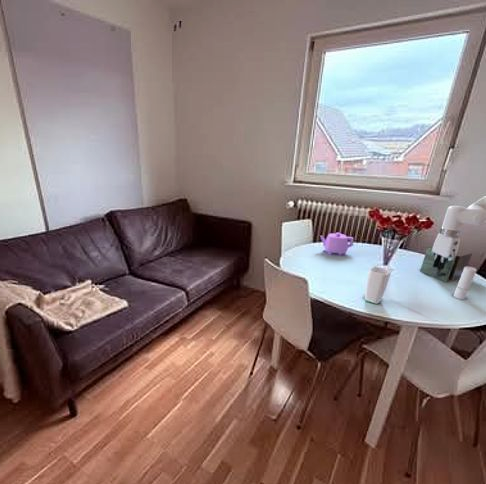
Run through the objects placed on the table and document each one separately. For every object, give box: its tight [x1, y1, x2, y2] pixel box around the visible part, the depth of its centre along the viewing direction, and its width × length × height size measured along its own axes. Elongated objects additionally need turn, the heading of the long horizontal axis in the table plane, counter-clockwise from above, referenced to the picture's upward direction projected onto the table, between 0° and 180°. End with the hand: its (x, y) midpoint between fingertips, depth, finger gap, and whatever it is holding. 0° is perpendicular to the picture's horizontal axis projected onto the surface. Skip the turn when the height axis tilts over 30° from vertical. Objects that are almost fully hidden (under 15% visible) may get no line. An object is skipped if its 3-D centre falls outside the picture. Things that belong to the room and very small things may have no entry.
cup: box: [364, 266, 392, 305], centre depth 136 cm, size 7×7×15 cm
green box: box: [419, 247, 456, 283], centre depth 160 cm, size 6×15×14 cm, turn 16°
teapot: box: [319, 232, 354, 256], centre depth 193 cm, size 20×12×13 cm, turn 77°
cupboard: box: [428, 246, 473, 281], centre depth 163 cm, size 11×15×14 cm
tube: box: [453, 266, 478, 300], centre depth 139 cm, size 4×4×15 cm
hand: (438, 267), depth 154 cm, fingers closed on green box, 2 cm apart
